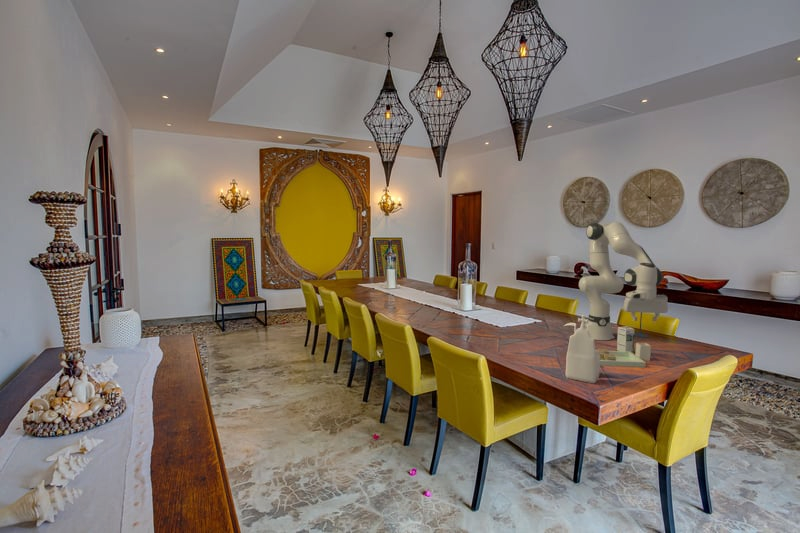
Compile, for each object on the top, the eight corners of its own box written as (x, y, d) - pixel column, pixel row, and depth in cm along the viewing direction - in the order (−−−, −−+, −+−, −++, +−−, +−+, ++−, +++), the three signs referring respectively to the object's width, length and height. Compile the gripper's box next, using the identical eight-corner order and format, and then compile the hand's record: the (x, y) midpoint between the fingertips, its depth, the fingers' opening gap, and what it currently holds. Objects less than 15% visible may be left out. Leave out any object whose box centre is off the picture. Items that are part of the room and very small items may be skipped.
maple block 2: (594, 358, 206) (594, 351, 205) (602, 358, 205) (603, 351, 205) (597, 361, 202) (597, 353, 202) (605, 361, 201) (606, 353, 201)
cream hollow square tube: (635, 357, 211) (636, 342, 211) (645, 357, 211) (646, 343, 210) (639, 360, 206) (640, 345, 206) (649, 360, 206) (650, 345, 205)
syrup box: (625, 355, 215) (626, 329, 213) (616, 352, 220) (617, 326, 219) (633, 354, 216) (635, 328, 215) (624, 351, 222) (626, 325, 220)
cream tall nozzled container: (600, 376, 186) (604, 312, 183) (596, 385, 175) (599, 317, 172) (562, 368, 196) (564, 308, 193) (555, 376, 185) (557, 312, 182)
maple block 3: (604, 361, 201) (604, 354, 201) (612, 362, 201) (612, 354, 200) (607, 364, 197) (607, 356, 197) (615, 364, 197) (616, 356, 196)
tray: (586, 356, 213) (586, 350, 212) (629, 358, 210) (630, 351, 210) (597, 367, 196) (598, 360, 196) (645, 369, 193) (645, 362, 193)
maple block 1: (597, 356, 210) (597, 348, 210) (605, 356, 209) (605, 348, 209) (600, 358, 206) (600, 351, 206) (608, 358, 205) (608, 351, 205)
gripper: (664, 293, 207) (663, 319, 208) (622, 293, 210) (621, 319, 211) (671, 295, 201) (669, 322, 202) (628, 295, 203) (626, 321, 205)
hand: (644, 320), depth 207 cm, fingers open, 8 cm apart
